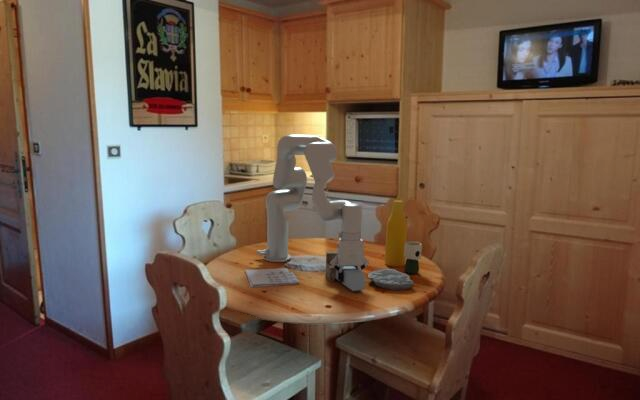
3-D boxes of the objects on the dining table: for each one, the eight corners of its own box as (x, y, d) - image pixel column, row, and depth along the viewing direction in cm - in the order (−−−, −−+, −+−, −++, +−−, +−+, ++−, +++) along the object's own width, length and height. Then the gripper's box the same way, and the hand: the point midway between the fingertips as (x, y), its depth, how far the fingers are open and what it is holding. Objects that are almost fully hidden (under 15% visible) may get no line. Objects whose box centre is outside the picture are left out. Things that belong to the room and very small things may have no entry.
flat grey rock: (359, 278, 194) (359, 271, 194) (395, 274, 200) (396, 267, 200) (381, 294, 176) (382, 287, 176) (421, 290, 182) (421, 282, 182)
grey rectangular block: (352, 291, 175) (353, 272, 174) (334, 277, 189) (334, 260, 188) (364, 289, 177) (365, 271, 176) (345, 276, 191) (346, 259, 190)
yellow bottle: (399, 268, 208) (402, 203, 203) (380, 264, 214) (383, 200, 209) (408, 263, 215) (412, 201, 211) (390, 259, 221) (394, 198, 216)
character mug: (414, 277, 196) (416, 247, 194) (398, 274, 200) (400, 244, 198) (424, 271, 205) (426, 242, 203) (409, 268, 209) (410, 239, 207)
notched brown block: (329, 281, 188) (330, 254, 186) (325, 275, 196) (326, 248, 194) (361, 280, 190) (362, 253, 188) (355, 274, 199) (356, 248, 197)
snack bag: (250, 288, 179) (250, 283, 179) (244, 272, 199) (244, 267, 198) (299, 285, 185) (299, 280, 184) (289, 269, 204) (289, 264, 203)
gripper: (330, 238, 175) (329, 285, 178) (375, 238, 178) (373, 283, 181) (326, 233, 182) (325, 278, 185) (369, 233, 185) (367, 277, 188)
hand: (348, 280), depth 183 cm, fingers closed on grey rectangular block, 5 cm apart
